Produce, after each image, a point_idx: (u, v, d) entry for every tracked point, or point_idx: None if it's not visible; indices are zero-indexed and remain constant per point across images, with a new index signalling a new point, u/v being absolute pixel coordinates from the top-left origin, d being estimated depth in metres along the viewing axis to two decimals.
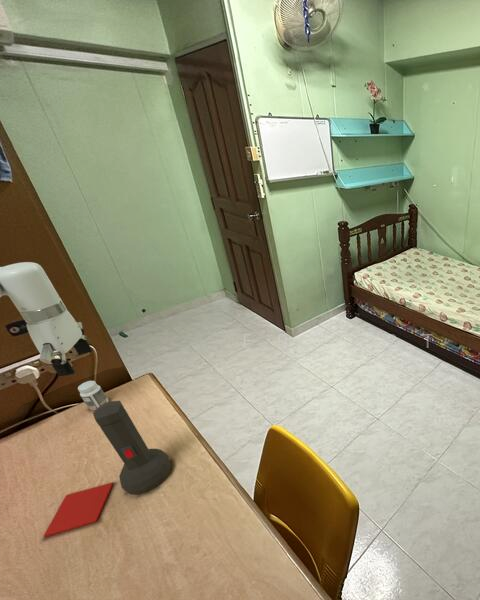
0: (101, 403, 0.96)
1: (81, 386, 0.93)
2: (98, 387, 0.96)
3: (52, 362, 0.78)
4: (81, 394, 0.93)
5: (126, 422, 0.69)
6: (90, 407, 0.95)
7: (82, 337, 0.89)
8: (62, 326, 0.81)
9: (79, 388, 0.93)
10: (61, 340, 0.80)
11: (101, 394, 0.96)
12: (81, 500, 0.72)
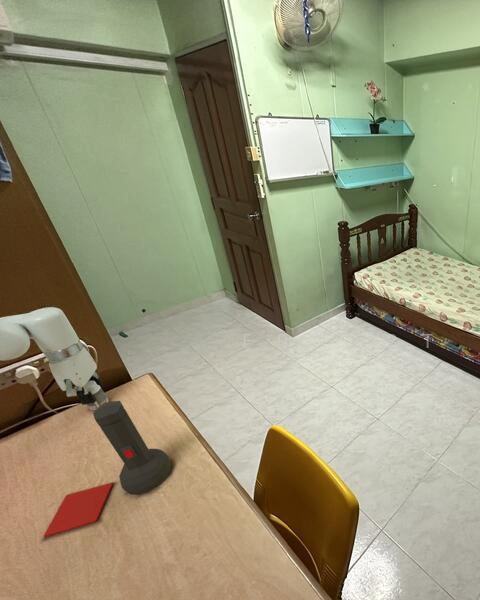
0: (101, 403, 0.96)
1: None
2: (98, 387, 0.96)
3: (77, 394, 0.89)
4: None
5: (126, 422, 0.69)
6: (90, 407, 0.95)
7: (95, 376, 0.96)
8: (80, 362, 0.89)
9: (79, 388, 0.93)
10: (79, 375, 0.88)
11: (101, 394, 0.96)
12: (81, 500, 0.72)
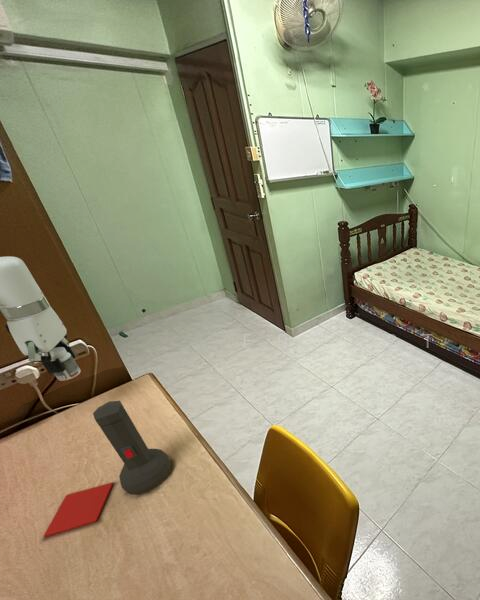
0: (72, 373, 0.85)
1: None
2: (68, 354, 0.84)
3: (42, 359, 0.77)
4: None
5: (126, 422, 0.69)
6: (59, 377, 0.84)
7: (65, 343, 0.85)
8: (45, 323, 0.78)
9: (45, 354, 0.81)
10: (44, 337, 0.77)
11: (72, 363, 0.85)
12: (81, 500, 0.72)
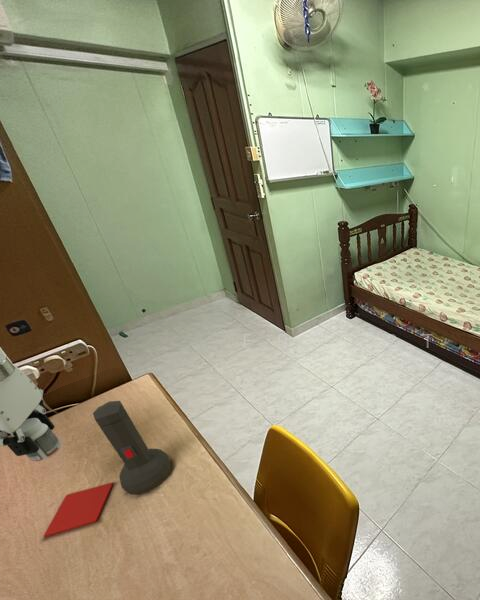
0: (49, 451, 0.64)
1: None
2: (44, 428, 0.64)
3: (4, 443, 0.57)
4: None
5: (126, 422, 0.69)
6: (31, 458, 0.63)
7: (39, 412, 0.64)
8: (9, 393, 0.57)
9: None
10: (7, 414, 0.56)
11: (49, 438, 0.64)
12: (81, 500, 0.72)
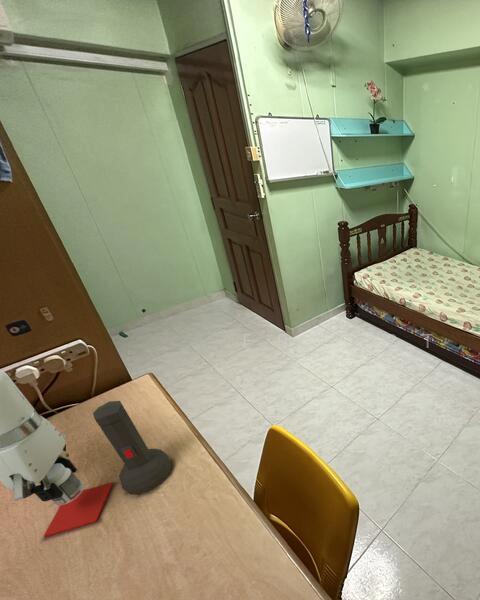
0: (72, 495, 0.67)
1: None
2: (67, 472, 0.67)
3: (32, 492, 0.60)
4: None
5: (126, 422, 0.69)
6: (56, 502, 0.66)
7: (63, 457, 0.67)
8: (36, 445, 0.60)
9: None
10: (34, 465, 0.59)
11: (72, 482, 0.67)
12: (81, 500, 0.72)
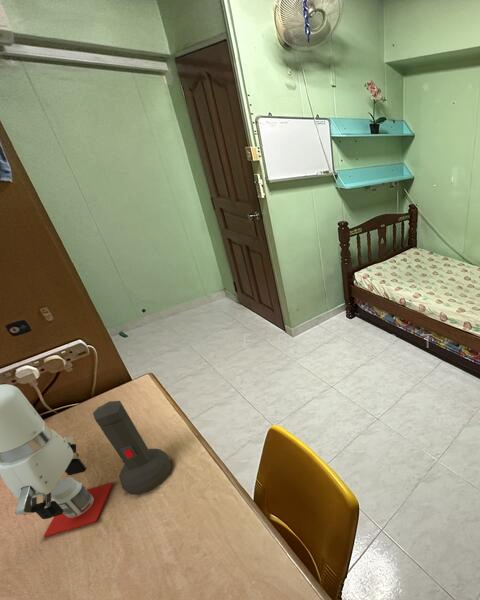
0: (83, 508, 0.70)
1: (54, 488, 0.67)
2: (78, 486, 0.69)
3: (33, 511, 0.59)
4: (54, 500, 0.66)
5: (126, 422, 0.69)
6: (67, 515, 0.69)
7: (73, 456, 0.70)
8: (47, 458, 0.62)
9: (51, 492, 0.66)
10: (45, 478, 0.61)
11: (83, 495, 0.70)
12: None
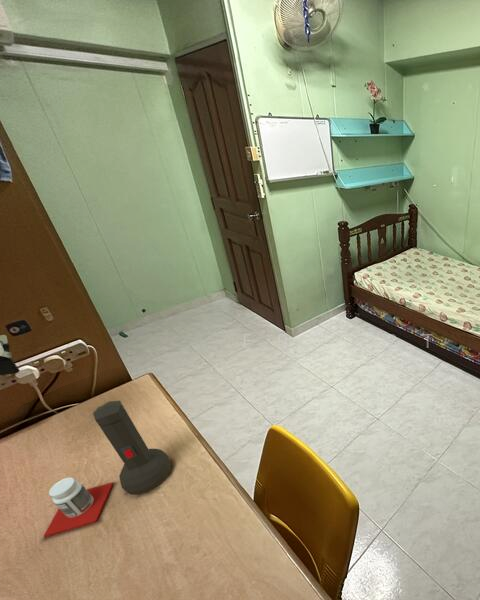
0: (83, 508, 0.70)
1: (54, 488, 0.67)
2: (78, 486, 0.69)
3: None
4: (54, 500, 0.66)
5: (126, 422, 0.69)
6: (67, 515, 0.69)
7: (5, 354, 0.70)
8: None
9: (51, 492, 0.66)
10: None
11: (83, 495, 0.70)
12: None
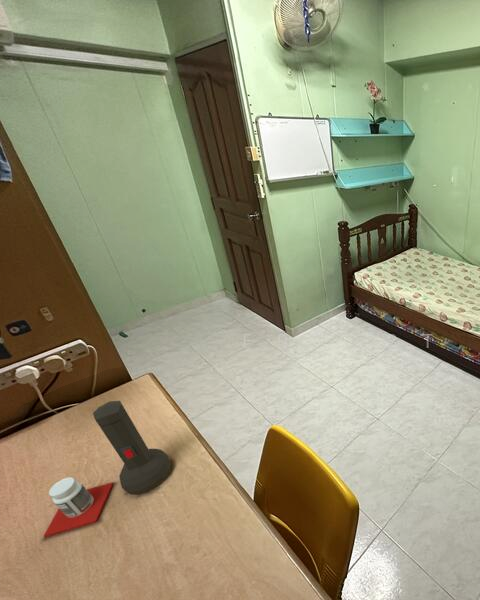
0: (83, 508, 0.70)
1: (54, 488, 0.67)
2: (79, 486, 0.69)
3: None
4: (54, 500, 0.66)
5: (126, 422, 0.69)
6: (67, 515, 0.69)
7: None
8: None
9: (51, 492, 0.66)
10: None
11: (83, 495, 0.70)
12: None
